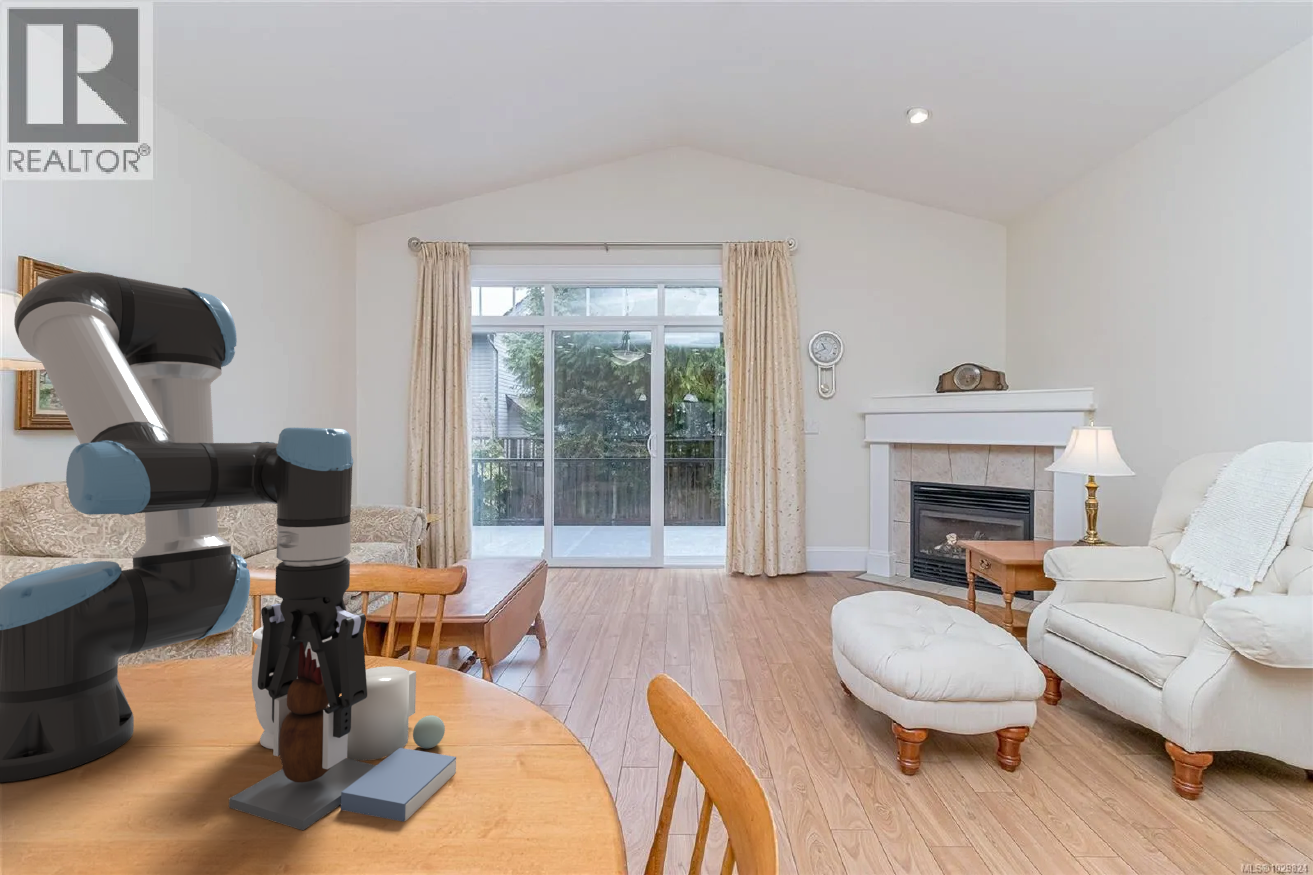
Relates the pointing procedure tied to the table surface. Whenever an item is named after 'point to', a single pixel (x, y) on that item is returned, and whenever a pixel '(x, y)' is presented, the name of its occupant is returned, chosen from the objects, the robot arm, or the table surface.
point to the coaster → (299, 795)
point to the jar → (267, 693)
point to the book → (398, 784)
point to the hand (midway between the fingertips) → (310, 756)
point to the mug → (382, 714)
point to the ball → (428, 731)
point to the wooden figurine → (304, 723)
